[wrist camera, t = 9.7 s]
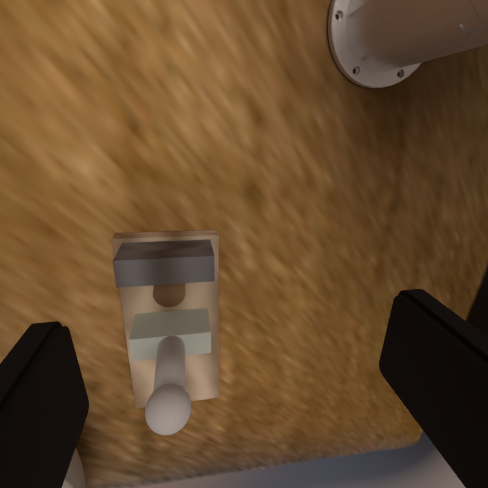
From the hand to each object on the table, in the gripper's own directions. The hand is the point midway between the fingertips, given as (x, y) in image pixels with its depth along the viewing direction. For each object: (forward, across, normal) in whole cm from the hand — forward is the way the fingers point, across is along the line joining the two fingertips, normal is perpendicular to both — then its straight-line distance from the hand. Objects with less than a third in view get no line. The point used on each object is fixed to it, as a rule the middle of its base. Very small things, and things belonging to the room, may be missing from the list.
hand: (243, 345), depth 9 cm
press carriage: (+26, +5, +18) cm, 32 cm away
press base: (+28, +5, +20) cm, 35 cm away
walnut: (+26, +5, +12) cm, 30 cm away
